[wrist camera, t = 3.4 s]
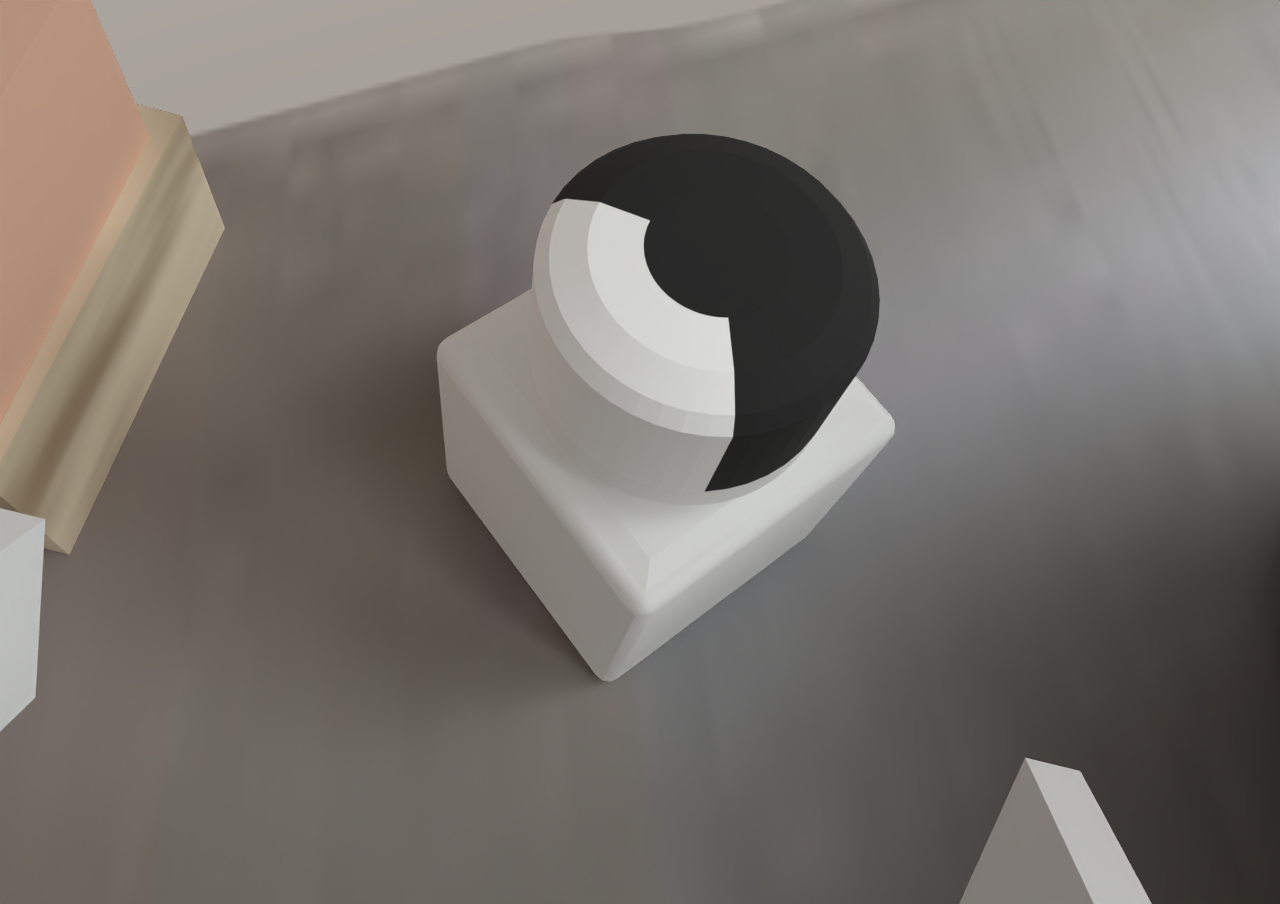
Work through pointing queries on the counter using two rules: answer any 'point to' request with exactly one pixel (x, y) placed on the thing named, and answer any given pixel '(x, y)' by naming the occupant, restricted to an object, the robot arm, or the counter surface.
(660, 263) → the medicine bottle
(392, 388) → the counter surface
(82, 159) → the top block
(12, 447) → the bottom block
